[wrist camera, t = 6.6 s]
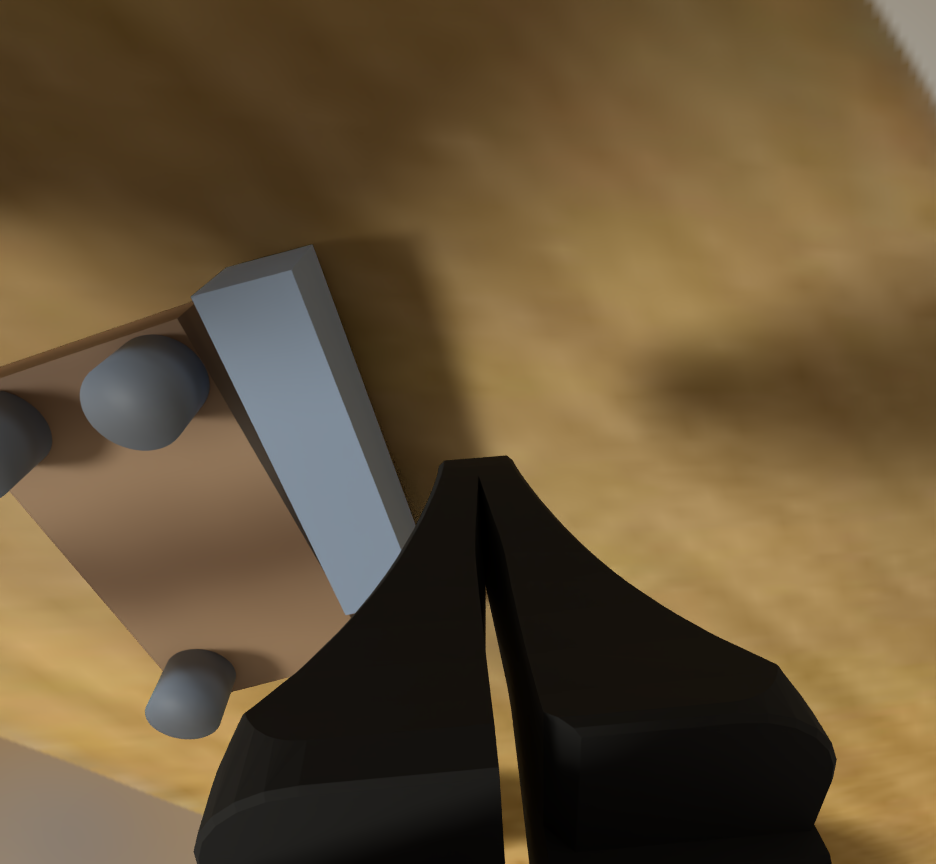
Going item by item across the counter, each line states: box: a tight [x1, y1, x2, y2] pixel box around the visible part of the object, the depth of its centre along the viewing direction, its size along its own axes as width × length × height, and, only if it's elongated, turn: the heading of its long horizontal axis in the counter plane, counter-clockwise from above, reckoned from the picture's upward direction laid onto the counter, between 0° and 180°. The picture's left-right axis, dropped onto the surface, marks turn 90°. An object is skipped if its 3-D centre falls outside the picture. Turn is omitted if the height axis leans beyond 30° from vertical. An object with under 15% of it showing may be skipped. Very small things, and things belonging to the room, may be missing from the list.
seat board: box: [0, 302, 355, 739], centre depth 17 cm, size 12×7×3 cm, turn 18°
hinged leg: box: [191, 244, 416, 615], centre depth 16 cm, size 11×2×2 cm, turn 14°
